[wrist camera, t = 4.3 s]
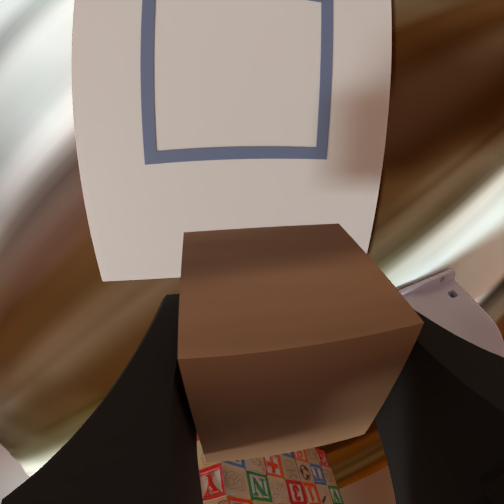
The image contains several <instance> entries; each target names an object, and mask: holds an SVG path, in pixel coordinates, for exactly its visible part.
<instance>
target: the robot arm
mask: <svg viewBox="0 0 504 504" xmlns="http://www.w3.org/2000/svg"><path fill="white" fill-rule="evenodd" d="M454 276H455V272H454V270H453V269H448V270H446V271H443V272H441V273H439V274H436V275H434V276H432V277H429V278H427V279H425V280H422V281H420V282H418V283H415V284H413V285H410V286H408V287H405V288H403V289H400V290H398V291H399V292H400V293H401V295H402V296H403V297H404V298H405V299H406V301H407V302H408V303H409V304H410V305H411V307H412V308H413V309H414V310H415V312H416V313H417V314H418V315H419V317H420V318H421V319H422V320H423V322H424V324H423V326H422V329H421V331H420V333H419V335H418V338H417V340H416V342H415V344H414V346H413V348H412V350H411V352H410V355H409V357H408V359H407V361H406V363H405V365H404V367H403V369H402V371H401V372H400V374H399V376H398V378H397V380H396V382H395V384H394V386H393V387H392V389H391V391H390V393H389V395H388V396H387V398H386V400H385V402H384V403H383V405H382V407H381V408H380V410H379V412H378V413H377V415H376V417H375V418H374V421H375V424H376V427H377V430H378V433H379V436H380V439H381V442H382V445H383V448H384V452H385V455H386V459H387V463H388V466H389V470H390V474H391V479H392V484H393V488H394V493H395V499H396V504H504V342H503V338H502V335H501V333H500V331H499V329H498V327H497V325H496V324H495V322H494V321H493V320H492V318H491V317H490V316H489V315H488V314H487V313H486V312H485V311H484V310H483V309H482V308H481V307H480V306H479V305H478V304H477V303H476V302H475V301H474V299H473V298H472V297H471V296H470V295H469V294H468V293H467V292H466V291H465V290H464V289H463V288H462V287H461V286H460V285H459V284H458V283H457V282H456V281H454ZM179 297H180V294H172V295H166V296H165V297H164V298H163V300H162V303H161V305H160V307H159V309H158V311H157V313H156V315H155V317H154V319H153V321H152V323H151V325H150V327H149V329H148V331H147V332H146V334H145V336H144V338H143V339H142V341H141V343H140V345H139V346H138V348H137V350H136V352H135V353H134V355H133V357H132V358H131V360H130V361H129V363H128V364H127V366H126V367H125V369H124V371H123V372H122V374H121V375H120V377H119V378H118V380H117V381H116V383H115V384H114V386H113V387H112V388H111V390H110V391H109V393H108V394H107V395H106V397H105V398H104V399H103V401H102V402H101V403H100V405H99V406H98V407H97V408H96V410H95V411H94V412H93V413H92V415H91V416H90V417H89V418H88V419H87V421H86V422H85V423H84V424H83V425H82V427H81V428H80V429H79V430H78V431H77V432H76V433H75V434H74V436H73V437H72V438H71V439H70V440H69V441H68V442H67V443H66V444H65V445H64V446H63V447H62V448H61V449H60V450H59V451H58V452H57V453H56V454H55V455H54V456H53V457H52V458H51V459H50V460H49V461H48V462H47V463H46V464H45V465H44V466H43V467H42V468H40V469H39V470H38V471H37V472H36V473H35V474H34V475H32V476H31V477H30V478H29V479H27V480H26V481H25V482H24V483H23V484H21V485H20V486H19V487H18V488H16V489H15V490H14V491H13V492H11V493H10V494H9V495H7V496H6V497H5V498H3V499H2V503H1V504H203V498H202V491H201V483H200V475H199V466H198V457H197V430H196V427H195V423H194V420H193V416H192V413H191V409H190V406H189V402H188V398H187V395H186V391H185V387H184V383H183V379H182V375H181V371H180V367H179V363H178V321H179Z"/></svg>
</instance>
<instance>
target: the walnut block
mask: <svg viewBox="0 0 504 504" xmlns="http://www.w3.org/2000/svg"><path fill="white" fill-rule="evenodd" d="M423 324H424V322H423V320H422V319H421V318H420V317H419V315H418V314H417V313H416V312H415V310H414V309H413V308H412V307H411V305H410V304H409V303H408V302H407V301H406V299H405V298H404V297H403V296H402V295H401V293H400V292H399V291H398V290H397V289H396V287H395V286H394V285H393V284H392V283H391V281H390V280H389V279H388V278H387V277H386V276H385V274H384V273H383V272H382V271H381V270H380V269H379V267H378V266H377V265H376V264H375V263H374V262H373V261H372V259H371V258H370V257H369V256H368V255H367V254H366V253H365V252H364V250H363V249H362V248H361V247H360V246H359V245H358V244H357V243H356V242H355V241H354V239H353V238H352V237H351V236H350V235H349V234H348V233H347V232H346V231H345V230H344V229H343V228H342V226H341V225H340V224H316V225H296V226H277V227H259V228H242V229H226V230H211V231H196V232H184V235H183V248H182V262H181V278H180V297H179V321H178V363H179V367H180V371H181V375H182V379H183V383H184V387H185V391H186V395H187V398H188V402H189V406H190V409H191V413H192V416H193V420H194V423H195V427H196V430H197V433H198V437H199V440H200V443H201V446H202V450H203V453H204V456H205V459H206V462H207V463H210V462H223V461H234V460H243V459H251V458H259V457H266V456H272V455H278V454H284V453H290V452H295V451H300V450H305V449H310V448H314V447H319V446H323V445H327V444H331V443H335V442H339V441H343V440H346V439H350V438H353V437H357V436H360V435H364V434H365V433H366V431H367V429H368V428H369V426H370V425H371V423H372V422H373V420H374V418H375V417H376V415H377V413H378V412H379V410H380V408H381V407H382V405H383V403H384V402H385V400H386V398H387V396H388V395H389V393H390V391H391V389H392V387H393V386H394V384H395V382H396V380H397V378H398V376H399V374H400V372H401V371H402V369H403V367H404V365H405V363H406V361H407V359H408V357H409V355H410V352H411V350H412V348H413V346H414V344H415V342H416V340H417V338H418V335H419V333H420V331H421V329H422V326H423Z"/></svg>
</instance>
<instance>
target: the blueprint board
mask: <svg viewBox="0 0 504 504" xmlns="http://www.w3.org/2000/svg"><path fill="white" fill-rule="evenodd" d="M391 55H392V13H391V0H75V3H74V15H73V31H72V97H73V114H74V127H75V137H76V147H77V155H78V163H79V171H80V177H81V184H82V190H83V196H84V202H85V207H86V213H87V218H88V223H89V227H90V232H91V237H92V241H93V245H94V250H95V254H96V258H97V262H98V266H99V270H100V274H101V277H102V281H121V280H140V279H158V278H175V277H181V262H182V248H183V235H184V232H196V231H211V230H226V229H242V228H259V227H277V226H296V225H316V224H340V225H341V226H342V228H343V229H344V230H345V231H346V232H347V233H348V234H349V235H350V236H351V237H352V238H353V239H354V241H355V242H356V243H357V244H358V245H359V246H360V247H361V248H362V249H363V250H364V252H365V253H366V254H367V251H368V247H369V242H370V237H371V232H372V227H373V221H374V216H375V210H376V205H377V199H378V192H379V186H380V180H381V173H382V165H383V158H384V150H385V141H386V132H387V122H388V110H389V97H390V81H391Z"/></svg>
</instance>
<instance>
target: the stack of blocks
mask: <svg viewBox="0 0 504 504" xmlns="http://www.w3.org/2000/svg"><path fill="white" fill-rule="evenodd" d="M197 457H198V466H199V475H200V483H201V491H202V498H203V504H344V503H343V500H342V497H341V494H340V491H339V488H338V486H337V485H336V482H335V479H334V476H333V473H332V470H331V468H330V466H329V462H328V459H327V456H326V453H325V451H324V450H321V449H318V448H315V447H314V448H310V449H305V450H300V451H295V452H290V453H284V454H278V455H272V456H266V457H259V458H251V459H243V460H234V461H223V462H210V463H207V462H206V459H205V456H204V453H203V450H202V446H201V443H200V440H199V437H198V433H197Z"/></svg>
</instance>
